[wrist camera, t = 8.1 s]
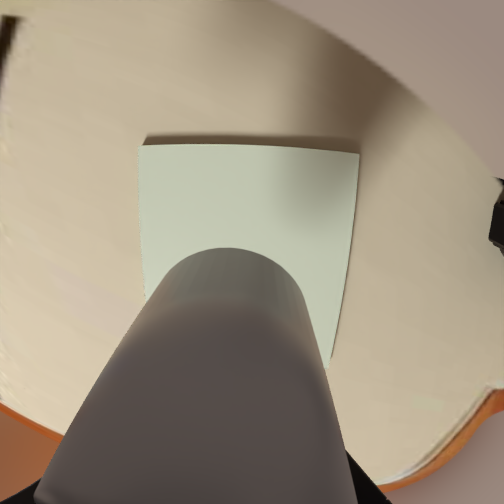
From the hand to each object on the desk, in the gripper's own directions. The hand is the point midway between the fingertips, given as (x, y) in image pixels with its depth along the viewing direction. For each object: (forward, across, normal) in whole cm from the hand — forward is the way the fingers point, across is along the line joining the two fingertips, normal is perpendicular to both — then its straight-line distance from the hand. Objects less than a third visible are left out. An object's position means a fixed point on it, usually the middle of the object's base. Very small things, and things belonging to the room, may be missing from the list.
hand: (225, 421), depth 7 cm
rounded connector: (+1, 0, 0) cm, 1 cm away
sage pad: (+12, 0, 0) cm, 12 cm away
